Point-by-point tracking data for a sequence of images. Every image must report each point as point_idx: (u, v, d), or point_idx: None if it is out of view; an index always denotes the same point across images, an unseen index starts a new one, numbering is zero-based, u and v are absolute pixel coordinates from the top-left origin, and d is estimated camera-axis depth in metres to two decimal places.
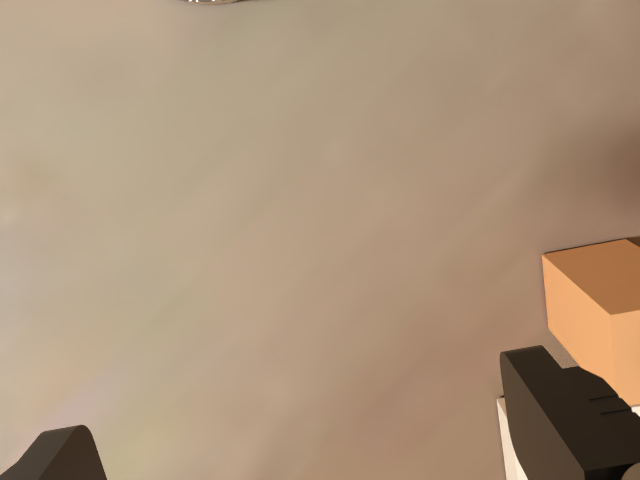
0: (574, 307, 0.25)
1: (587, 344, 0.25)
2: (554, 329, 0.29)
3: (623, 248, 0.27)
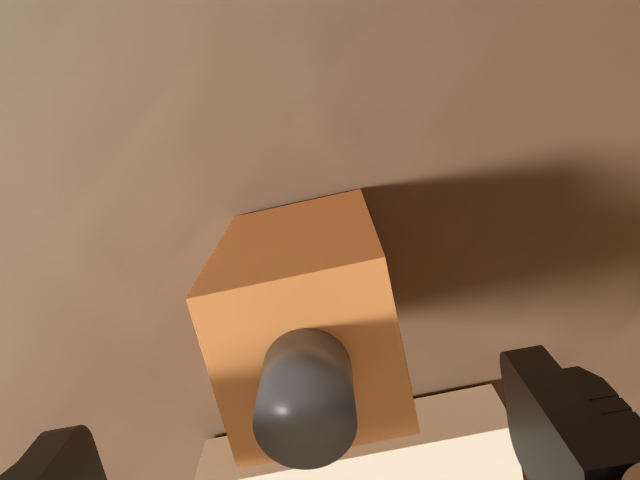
0: None
1: None
2: None
3: (342, 200, 0.17)
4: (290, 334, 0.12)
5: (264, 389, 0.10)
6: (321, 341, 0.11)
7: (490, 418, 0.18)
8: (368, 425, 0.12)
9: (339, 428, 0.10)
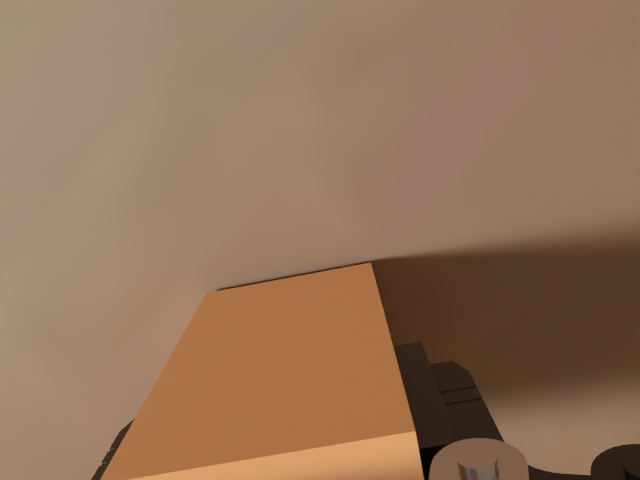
0: None
1: None
2: None
3: (347, 282, 0.13)
4: None
5: None
6: None
7: None
8: None
9: None
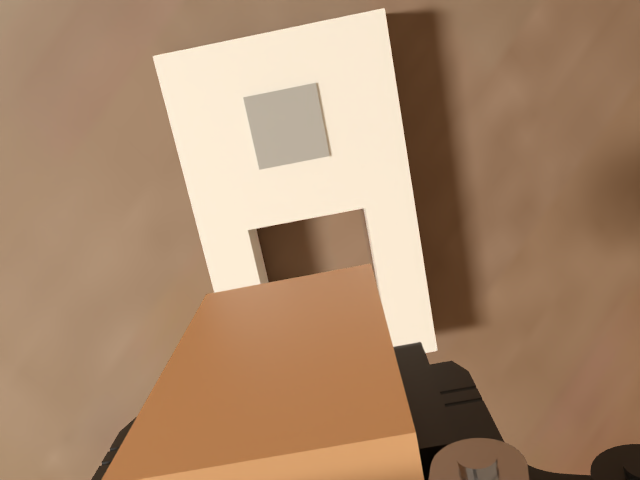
0: None
1: None
2: None
3: (347, 282, 0.13)
4: None
5: None
6: None
7: None
8: None
9: None
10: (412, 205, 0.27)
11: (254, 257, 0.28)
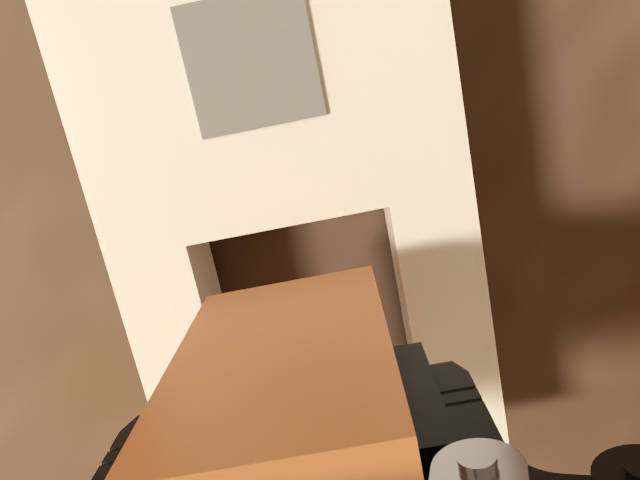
0: None
1: None
2: None
3: (347, 285, 0.13)
4: None
5: None
6: None
7: None
8: None
9: None
10: (472, 202, 0.15)
11: (199, 292, 0.16)
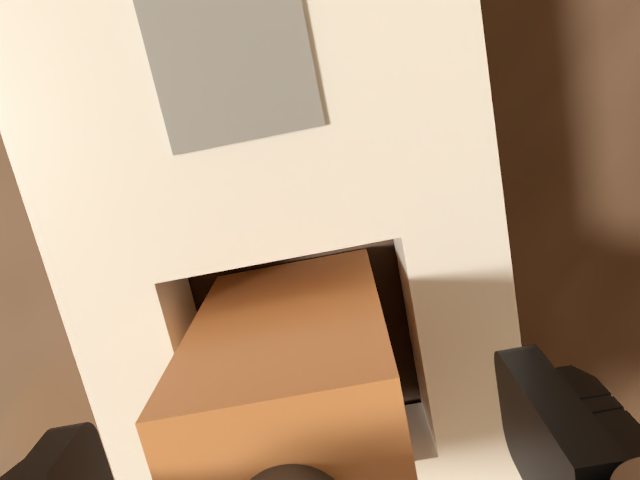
0: None
1: None
2: None
3: (344, 265, 0.14)
4: (271, 474, 0.09)
5: None
6: None
7: None
8: None
9: None
10: (502, 232, 0.13)
11: (171, 338, 0.13)
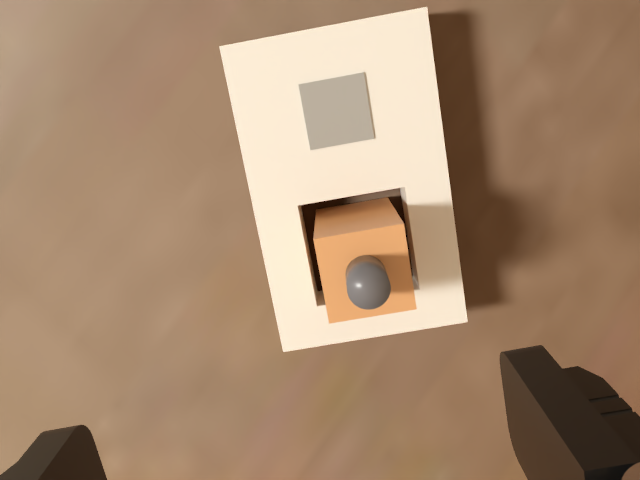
0: None
1: None
2: None
3: (378, 202, 0.31)
4: (359, 257, 0.26)
5: (352, 273, 0.24)
6: (374, 259, 0.25)
7: None
8: (392, 304, 0.26)
9: (383, 291, 0.24)
10: (447, 185, 0.30)
11: (302, 231, 0.30)
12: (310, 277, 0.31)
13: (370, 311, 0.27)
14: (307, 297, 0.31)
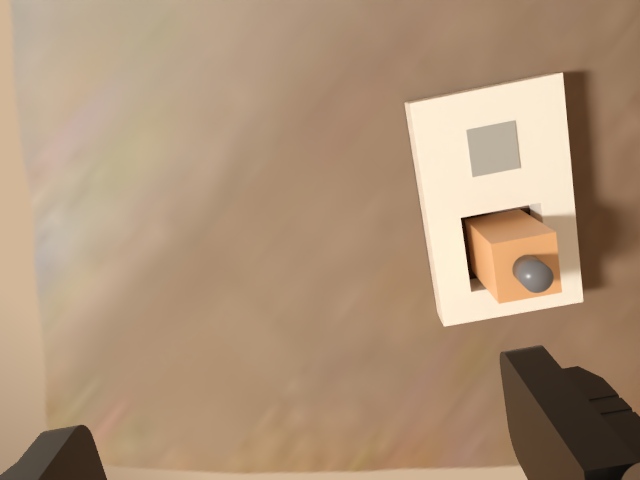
0: (479, 248, 0.40)
1: (485, 269, 0.39)
2: (474, 269, 0.43)
3: (515, 213, 0.42)
4: (524, 256, 0.36)
5: (526, 268, 0.35)
6: (535, 257, 0.36)
7: (550, 74, 0.39)
8: None
9: (548, 280, 0.35)
10: (572, 201, 0.40)
11: (462, 236, 0.41)
12: (467, 270, 0.41)
13: (528, 294, 0.37)
14: (464, 285, 0.42)
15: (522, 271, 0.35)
